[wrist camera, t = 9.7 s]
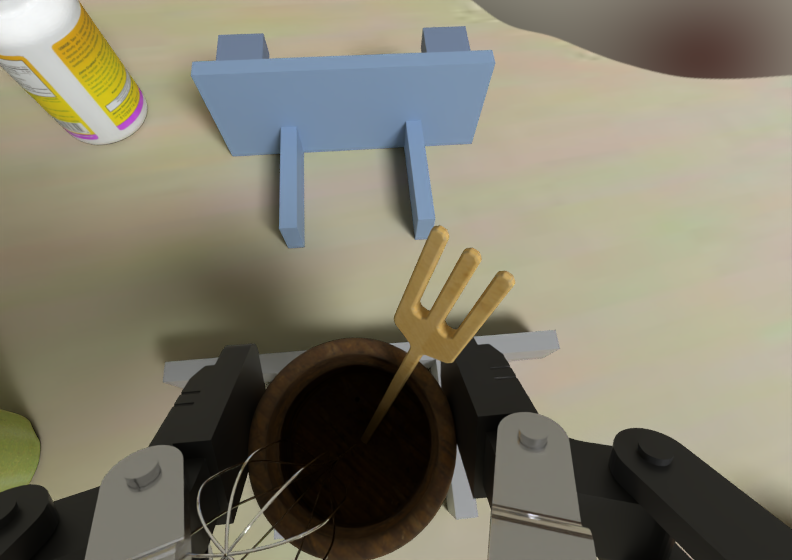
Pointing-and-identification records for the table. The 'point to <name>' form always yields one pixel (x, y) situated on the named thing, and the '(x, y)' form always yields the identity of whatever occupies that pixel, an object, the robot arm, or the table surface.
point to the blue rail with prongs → (345, 108)
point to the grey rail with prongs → (508, 344)
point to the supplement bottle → (70, 69)
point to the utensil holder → (362, 429)
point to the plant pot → (17, 450)
